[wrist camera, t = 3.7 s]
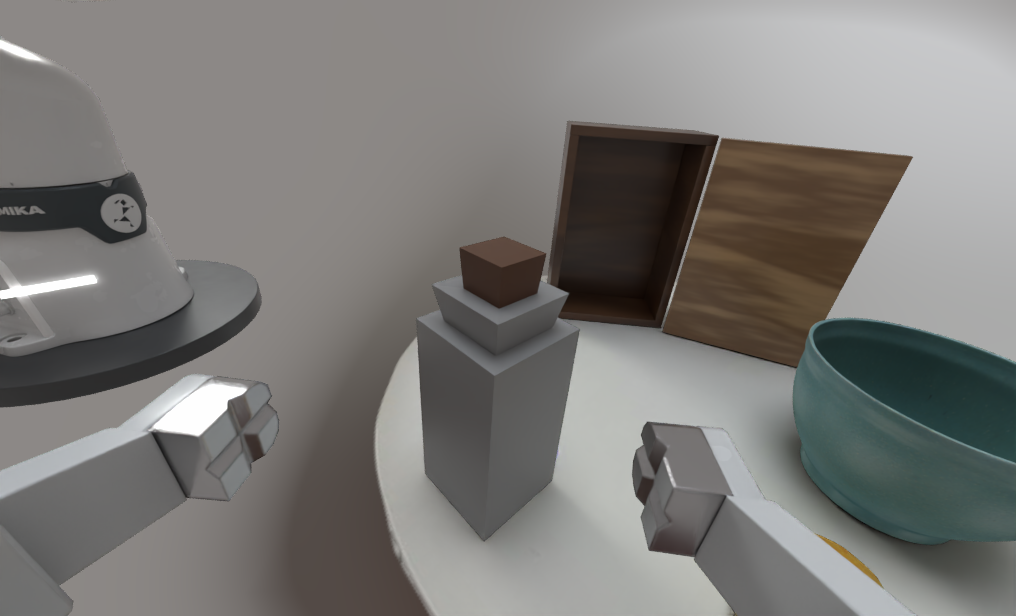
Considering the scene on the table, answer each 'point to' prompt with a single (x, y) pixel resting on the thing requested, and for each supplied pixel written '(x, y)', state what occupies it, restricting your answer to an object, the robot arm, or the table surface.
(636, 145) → the cupboard
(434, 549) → the table surface
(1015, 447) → the flower pot
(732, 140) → the cupboard door
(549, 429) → the perfume bottle
